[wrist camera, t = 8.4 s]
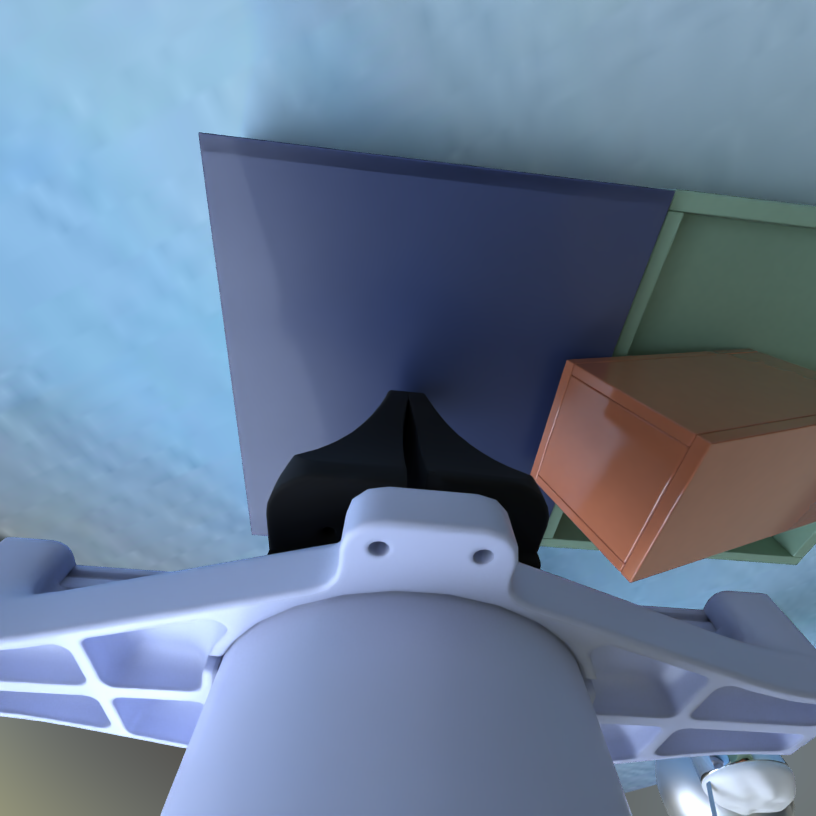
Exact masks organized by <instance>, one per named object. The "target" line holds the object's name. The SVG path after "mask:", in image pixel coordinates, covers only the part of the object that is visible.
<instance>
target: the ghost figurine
mask: <svg viewBox="0 0 816 816" xmlns="http://www.w3.org/2000/svg"><path fill="white" fill-rule="evenodd" d="M655 773H656V781H657V786H658V790H659V792H660V796H661V799H662V801H663V804H664V806H665V808H666V810H667V812H668V814H669V816H712V812H711V807H710V802H709V797H708V796H707V795H706V793H705V792H704V790H703V788H702V785H701V783H700V780H699V778H698V775H697V773H696V771H695V768H694V766H693V763H692V761H691V759H690V757H683V758H672V759H662V760H656V761H655ZM715 807H716V812H717V816H794V814H795V805H794V801H792V802H791V803H790V804H789V805H788V806H787V807H785V808H784V809H783V810H782V811H778V812H771V813H752V814H749V815H741V814H738V813H736V812H733V811H731V810H728V809H726V808H723V807H721V806H720V805H718V804H717V803H715Z"/></svg>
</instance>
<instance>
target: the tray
mask: <svg viewBox="0 0 816 816" xmlns="http://www.w3.org/2000/svg"><path fill="white" fill-rule="evenodd" d="M664 190H673V191H675V194H674V196H673V199H672V202H671V204H670V207H669V209H668V212H667V215H666V217H665V220H664V222H663V225H662V228H661V230H660V233H659V235H658V238H657V240H656V243H655V246H654V248H653V251H652V253H651V256H650V259H649V261H648V264H647V266H646V269H645V272H644V274H643V277H642V279H641V282H640V285H639V287H638V290H637V292H636V295H635V297H634V300H633V303H632V305H631V308H630V310H629V313H628V316H627V318H626V321H625V323H624V326H623V329H622V331H621V334H620V336H619V339H618V342H617V344H616V347H615V349H614V352H613V355H612V357H619V356H635V355H652V354H668V353H685V352H702V351H718V350H735V349H752V350H755V351H757V352H761V353H764V354H767V355H769V356H772V357H775V358H778V359H781V360H784V361H787V362H790V363H792V364H795V365H798V366H801V367H804V368H807V369H810V370H813V371H815V372H816V206H811V205H803V204H794V203H786V202H778V201H770V200H762V199H754V198H746V197H738V196H729V195H721V194H713V193H705V192H697V191H689V190H681V189H664ZM815 544H816V522H813V523H810V524H807V525H804V526H801V527H798V528H795V529H792V530H789V531H786V532H783V533H780V534H777V535H774V536H771V537H768V538H765V539H762V540H759V541H756V542H753V543H750V544H747V545H744V546H740V547H737V548H734V549H731V550H728V551H725V552H722V553H719V554H716V555H713V556H710V557H707V558H709V559H722V560H736V561H749V562H763V563H777V564H790V565H797V564H798V563H799V562H800V561H801V559H802V558H803V557H804V556H805V555H806V554H807V553H808V551H809V550H810V549H811V548H812V547H813V546H814V545H815ZM540 546H546V547H559V548H573V549H586V550H599V549H598V548H597V547H596V546H595V545H594V544H593V543H592V542H591V541H590V540H589V539H588V538H587V536H586V535H585V534H584V533H583V532H582V531H581V530H580V529H579V528H578V527H577V526H576V525H575V524H574V523H573V522H572V520H571V519H570V518H569V517H568V516H567V515H566V514H565V513H564V512H563V511H562V510H561V509H560V508H559V507H558V506H557V504H556V503H555V505H554V507H553V510H552V513H551V515H550V518H549V521H548V526H547V529H546V531H545V534H544V536H543V539H542V541H541V544H540Z"/></svg>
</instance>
